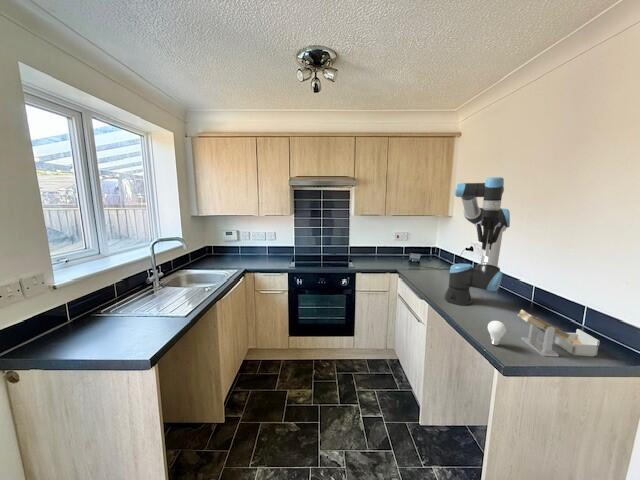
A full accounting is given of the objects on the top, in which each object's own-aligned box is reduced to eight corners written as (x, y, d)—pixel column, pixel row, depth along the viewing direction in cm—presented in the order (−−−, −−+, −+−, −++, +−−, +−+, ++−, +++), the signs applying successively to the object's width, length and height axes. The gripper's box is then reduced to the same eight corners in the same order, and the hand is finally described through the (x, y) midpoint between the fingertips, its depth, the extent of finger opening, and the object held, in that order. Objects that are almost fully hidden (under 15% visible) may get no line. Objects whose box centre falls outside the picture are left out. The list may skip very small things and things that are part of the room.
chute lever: (505, 309, 122) (510, 302, 122) (540, 326, 122) (545, 318, 122) (525, 324, 109) (531, 315, 108) (565, 342, 109) (571, 334, 108)
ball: (579, 341, 113) (573, 346, 114) (573, 337, 113) (567, 342, 114) (585, 345, 110) (580, 351, 111) (579, 341, 110) (574, 346, 111)
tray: (554, 342, 117) (556, 327, 116) (575, 343, 117) (578, 329, 115) (572, 355, 108) (575, 339, 107) (596, 356, 107) (599, 340, 106)
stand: (521, 338, 120) (524, 315, 118) (535, 339, 120) (538, 316, 118) (542, 355, 107) (546, 329, 105) (558, 356, 107) (562, 330, 105)
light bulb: (485, 345, 114) (488, 322, 112) (485, 339, 120) (488, 316, 118) (503, 350, 111) (507, 326, 109) (503, 343, 116) (506, 320, 114)
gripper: (481, 209, 126) (475, 257, 130) (509, 210, 125) (503, 258, 129) (473, 208, 133) (468, 254, 137) (500, 209, 132) (494, 254, 136)
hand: (485, 256), depth 133 cm, fingers closed
